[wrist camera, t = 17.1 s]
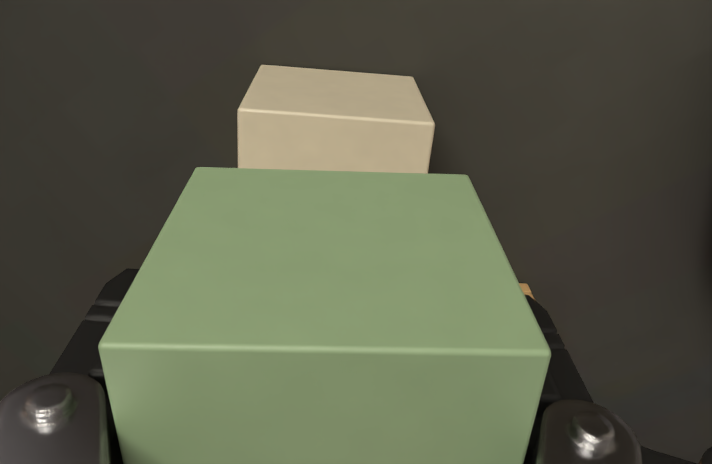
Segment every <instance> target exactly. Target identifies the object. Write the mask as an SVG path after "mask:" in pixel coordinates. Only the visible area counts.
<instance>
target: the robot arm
mask: <svg viewBox="0 0 712 464" xmlns="http://www.w3.org/2000/svg"><path fill="white" fill-rule="evenodd" d="M139 270H140V269H126V270H124V271H123V272H122V273H120V274H119V275H117V276H116V277H114V278H113V279H112V280H110V281H109V282H107V283H106V284H105V286H104V287H103V289H102V291H101V292H100V294H99V295H98V297H97V299H96V300H95V304H94V305H92V307H91V308H90V310H89V311H88V313H87V315H86V316H85V321H82V323H81V324H80V326H79V327H78V329H77V331H76V332H75V334H74V335H73V337H72V339H71V340H70V342H69V343H68V345H67V347H66V348H65V350H64V351H63V353H62V355H61V356H60V358H59V359H58V361H57V363H56V364H55V366H54V367H53V369H52V371H51V372H50V374H48V375H44V376H41V377H38V378H35V379H32V380H30V381H28V382H26V383H24V384H22V385H20V386H19V387H17V388H15V389H14V390H13V391H11V392H10V393H9V394H8V395H7V396H6V397H5V398H3V400H2V401H1V402H0V464H123V459H122V454H121V450H120V445H119V441H118V436H117V432H116V427H115V422H114V418H113V413H112V409H111V404H110V400H109V395H108V390H107V386H106V381H105V377H104V372H103V368H102V363H101V358H100V354H99V349H98V345H99V342H100V340H101V339H102V337H103V335H104V333H105V331H106V330H107V328H108V326H109V324H110V322H111V320H112V319H113V317H114V315H115V313H116V311H117V310H118V308H119V306H120V304H121V302H122V301H123V299H124V297H125V295H126V293H127V292H128V290H129V288H130V286H131V284H132V282H133V281H134V279H135V277H136V275H137V273H138V272H139ZM525 297H526V299H527V302H528V304H529V306H530V308H531V310H532V312H533V314H534V316H535V318H536V321H537V323H538V325H539V327H540V329H541V331H542V333H543V335H544V338H545V340H546V342H547V344H548V346H549V348H550V351H551V358H550V362H549V366H548V369H547V373H546V377H545V381H544V385H543V389H542V393H541V397H540V400H539V404H538V408H537V412H536V416H535V420H534V424H533V428H532V431H531V435H530V439H529V443H528V447H527V451H526V455H525V459H524V462H523V464H696V463H693V462H690V461H686V460H683V459H680V458H676V457H673V456H670V455H666V454H663V453H660V452H656V451H653V450H650V449H648V448H645V447H643V446H640V443H639V441H638V438H637V436H636V435H635V433H634V432H633V430H632V429H631V428H630V427H629V426H628V424H627V423H626V422H624V421H623V420H622V419H621V418H620V417H618V416H617V415H616V414H614V413H613V412H611V411H609V410H608V409H606V408H604V407H602V406H600V405H597V404H594V403H593V401H592V399H591V397H590V395H589V393H588V391H587V389H586V387H585V385H584V383H583V381H582V379H581V377H580V375H579V373H578V371H577V369H576V367H575V365H574V363H573V361H572V359H571V357H570V355H569V353H568V351H567V350H565V349H564V346H565V345H564V343H563V341H562V340H561V338H560V336H559V334H557V330H556V328H555V326H554V324H553V322H552V320H551V318H550V316H549V314H548V312H547V311H546V310H545V309H544V308H543V307H542V306H540V305H539V304H538V303H537V302H536V301H535V300H534V299H533V298H532V297H530V296H529V295H525ZM699 464H712V447H710V448H709V449H707V451H706V452H705V453H704V455H703V456H702V458H701V460H700V462H699Z"/></svg>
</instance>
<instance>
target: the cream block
mask: <svg viewBox="0 0 712 464" xmlns="http://www.w3.org/2000/svg"><path fill="white" fill-rule="evenodd" d="M237 121H238V168H247V169H283V170H318V171H353V172H389V173H424V174H428V169H429V162H430V156H431V149H432V143H433V136H434V130H435V123H434V121H433V119H432V117H431V115H430V112H429V110H428V108H427V106H426V104H425V102H424V100H423V98H422V95H421V93H420V91H419V89H418V87H417V85H416V83H415V81H414V78H413V77H410V76H397V75H385V74H372V73H360V72H347V71H335V70H322V69H310V68H297V67H285V66H272V65H261V66H260V68H259V70H258V72H257V74H256V76H255V77H254V79H253V81H252V83H251V85H250V87H249V89H248V91H247V93H246V95H245V97H244V99H243V101H242V102H241V104H240V106H239V108H238V111H237Z"/></svg>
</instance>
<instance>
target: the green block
mask: <svg viewBox="0 0 712 464" xmlns="http://www.w3.org/2000/svg"><path fill="white" fill-rule="evenodd" d="M98 349H99V354H100V358H101V363H102V368H103V372H104V377H105V381H106V386H107V390H108V395H109V400H110V404H111V409H112V413H113V418H114V422H115V427H116V432H117V436H118V441H119V445H120V450H121V454H122V459H123V464H523V462H524V459H525V455H526V451H527V447H528V443H529V439H530V435H531V431H532V428H533V424H534V420H535V416H536V412H537V408H538V404H539V400H540V397H541V393H542V389H543V385H544V381H545V377H546V373H547V369H548V366H549V362H550V358H551V351H550V348H549V346H548V344H547V342H546V340H545V338H544V335H543V333H542V331H541V329H540V327H539V325H538V323H537V321H536V318H535V316H534V314H533V312H532V310H531V308H530V306H529V304H528V302H527V299H526V297H525V295H524V293H523V291H522V289H521V287H520V285H519V282H518V280H517V278H516V276H515V274H514V272H513V270H512V268H511V266H510V263H509V261H508V259H507V257H506V255H505V253H504V251H503V249H502V246H501V244H500V242H499V240H498V238H497V236H496V234H495V232H494V230H493V227H492V225H491V223H490V221H489V219H488V217H487V215H486V213H485V210H484V208H483V206H482V204H481V202H480V200H479V198H478V196H477V194H476V191H475V189H474V187H473V185H472V183H471V181H470V179H469V177H468V176H467V175H460V174H424V173H389V172H353V171H318V170H283V169H247V168H212V167H198V168H195V170H194V172H193V174H192V176H191V177H190V179H189V181H188V183H187V185H186V187H185V188H184V190H183V192H182V194H181V196H180V197H179V199H178V201H177V203H176V205H175V206H174V208H173V210H172V212H171V214H170V215H169V217H168V219H167V221H166V223H165V225H164V226H163V228H162V230H161V232H160V234H159V235H158V237H157V239H156V241H155V243H154V244H153V246H152V248H151V250H150V252H149V253H148V255H147V257H146V259H145V261H144V263H143V264H142V266H141V268H140V270H139V272H138V273H137V275H136V277H135V279H134V281H133V282H132V284H131V286H130V288H129V290H128V292H127V293H126V295H125V297H124V299H123V301H122V302H121V304H120V306H119V308H118V310H117V311H116V313H115V315H114V317H113V319H112V320H111V322H110V324H109V326H108V328H107V330H106V331H105V333H104V335H103V337H102V339H101V340H100V342H99V345H98Z"/></svg>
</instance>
